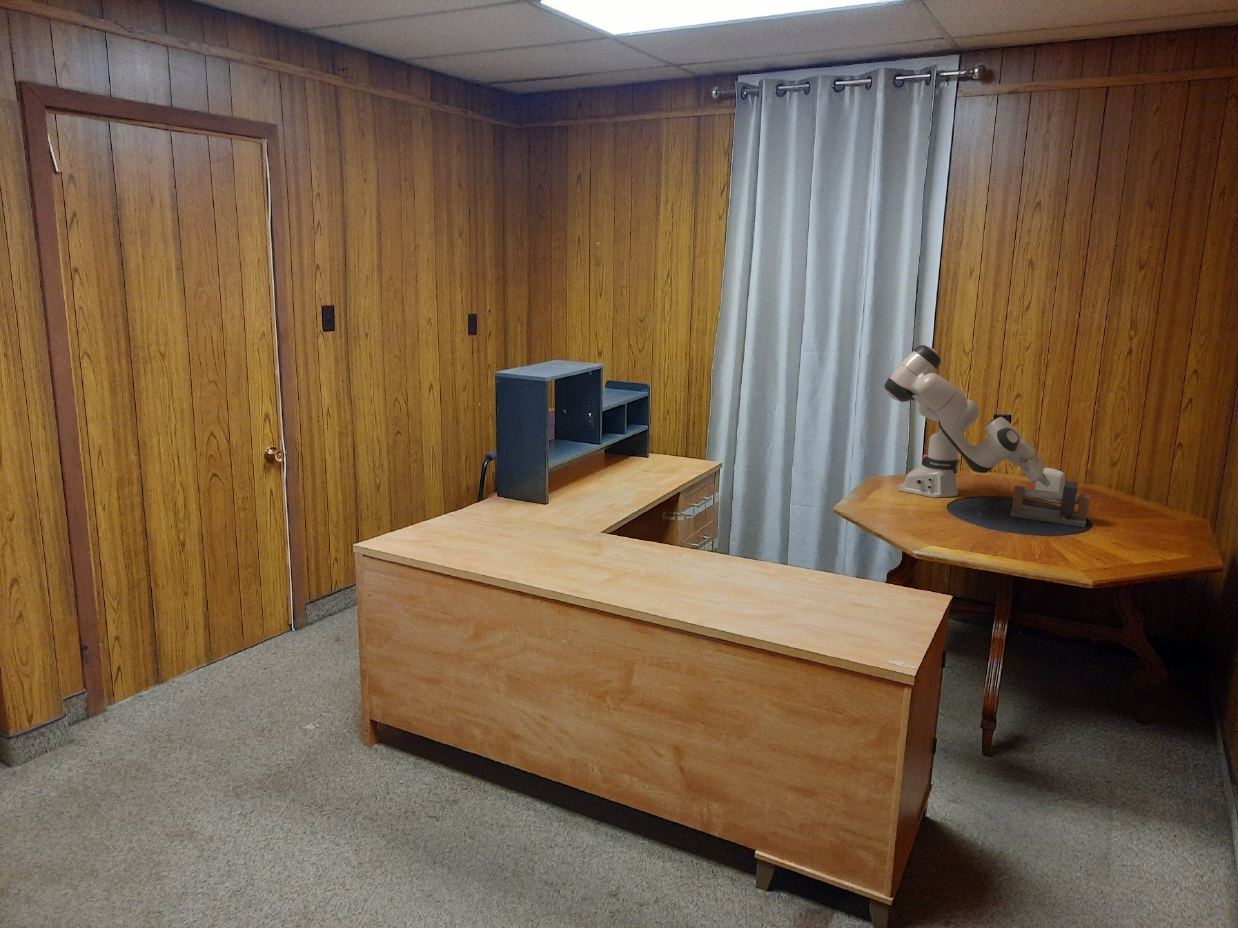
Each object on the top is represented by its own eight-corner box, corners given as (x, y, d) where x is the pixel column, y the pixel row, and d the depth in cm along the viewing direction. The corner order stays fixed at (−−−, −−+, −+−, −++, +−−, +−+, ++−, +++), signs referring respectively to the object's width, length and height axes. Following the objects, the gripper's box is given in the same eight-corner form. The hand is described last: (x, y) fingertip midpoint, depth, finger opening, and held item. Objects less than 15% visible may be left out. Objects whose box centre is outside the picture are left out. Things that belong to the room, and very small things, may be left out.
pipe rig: (1009, 516, 309) (1013, 490, 307) (1013, 508, 319) (1016, 483, 317) (1085, 527, 298) (1089, 500, 296) (1086, 518, 308) (1090, 492, 306)
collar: (1059, 514, 302) (1063, 486, 300) (1061, 507, 310) (1065, 480, 308) (1072, 516, 300) (1076, 488, 298) (1074, 509, 308) (1078, 482, 306)
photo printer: (1031, 497, 334) (1035, 467, 331) (1036, 496, 337) (1040, 465, 334) (1058, 503, 326) (1062, 472, 323) (1063, 502, 329) (1068, 470, 326)
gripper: (1027, 455, 299) (1054, 486, 297) (1031, 444, 316) (1057, 474, 314) (1011, 466, 302) (1038, 497, 300) (1016, 455, 320) (1042, 484, 317)
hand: (1048, 485), depth 307 cm, fingers closed
